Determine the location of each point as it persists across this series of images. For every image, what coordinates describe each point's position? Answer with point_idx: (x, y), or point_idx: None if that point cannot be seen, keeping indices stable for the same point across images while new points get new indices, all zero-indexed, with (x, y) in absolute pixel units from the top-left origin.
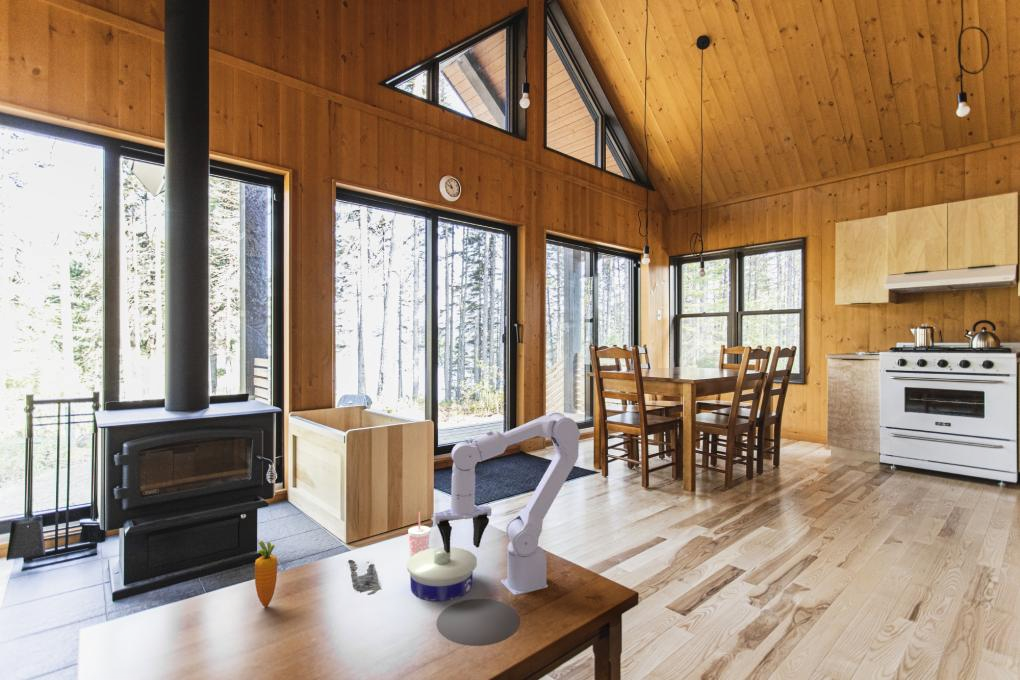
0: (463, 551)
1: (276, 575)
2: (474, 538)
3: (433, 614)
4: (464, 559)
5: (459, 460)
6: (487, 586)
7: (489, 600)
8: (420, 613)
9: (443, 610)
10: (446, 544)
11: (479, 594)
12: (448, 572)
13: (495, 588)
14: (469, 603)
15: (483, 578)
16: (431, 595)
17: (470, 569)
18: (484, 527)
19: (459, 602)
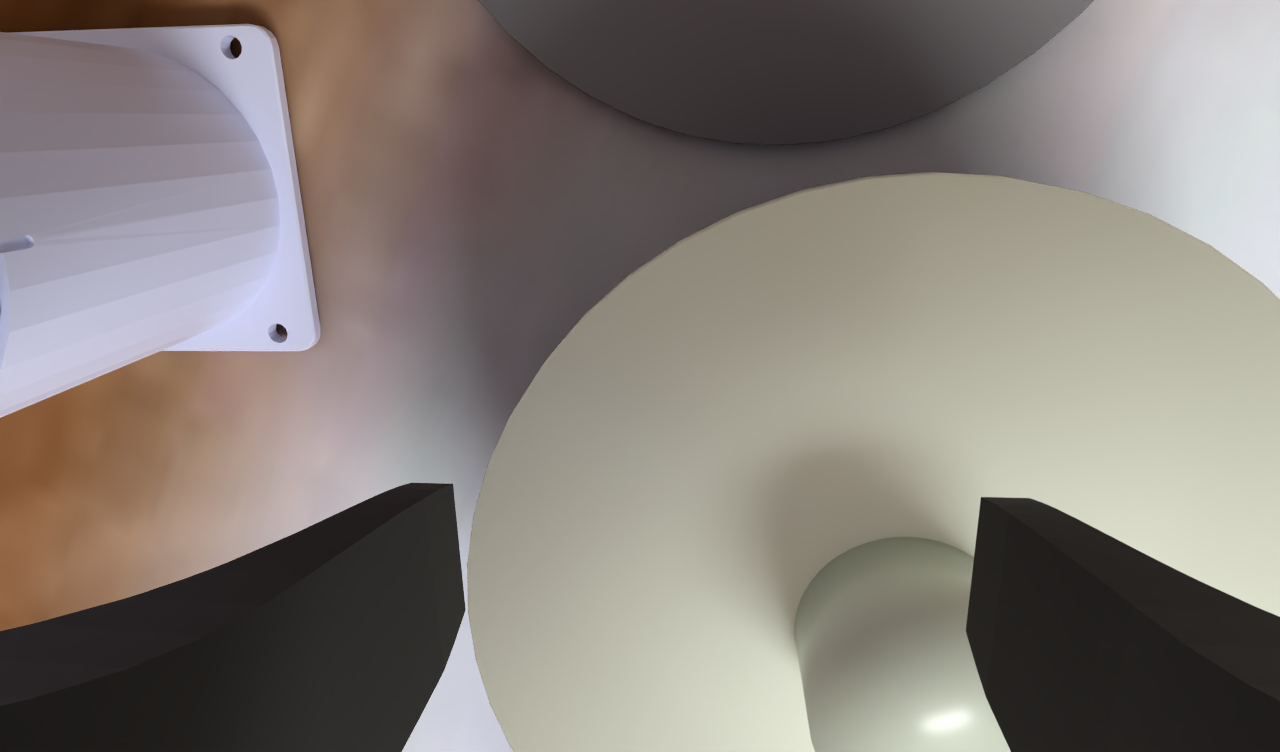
0: (559, 740)
1: None
2: (417, 660)
3: (1131, 58)
4: (625, 552)
5: None
6: (458, 330)
7: (539, 35)
8: (1233, 133)
9: (1033, 52)
10: (1152, 566)
11: (578, 225)
12: (971, 306)
13: (401, 263)
14: (743, 66)
15: (444, 476)
16: None
17: (659, 257)
18: (31, 634)
19: (826, 130)
